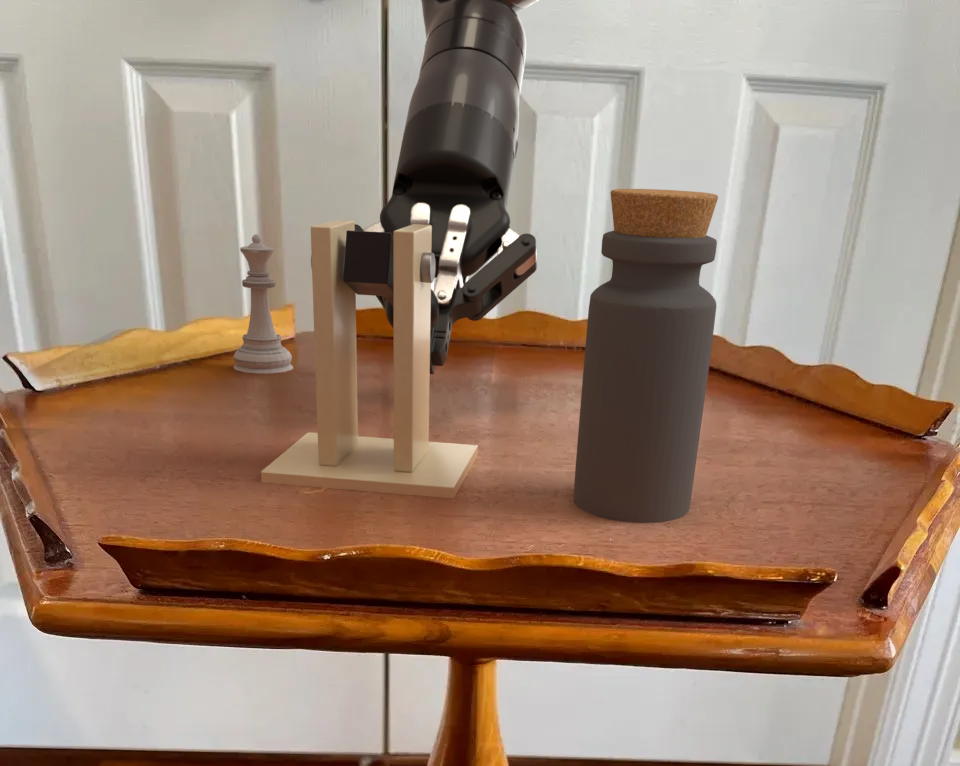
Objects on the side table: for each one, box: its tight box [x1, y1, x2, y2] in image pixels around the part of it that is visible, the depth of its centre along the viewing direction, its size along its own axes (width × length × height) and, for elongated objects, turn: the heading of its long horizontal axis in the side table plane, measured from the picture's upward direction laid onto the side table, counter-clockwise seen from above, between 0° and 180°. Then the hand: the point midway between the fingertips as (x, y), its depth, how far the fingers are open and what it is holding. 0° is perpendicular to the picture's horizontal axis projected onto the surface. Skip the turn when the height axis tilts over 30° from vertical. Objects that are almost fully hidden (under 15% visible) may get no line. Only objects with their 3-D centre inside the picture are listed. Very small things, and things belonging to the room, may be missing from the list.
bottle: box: [572, 188, 719, 524], centre depth 48 cm, size 6×6×15 cm
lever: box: [343, 230, 439, 330], centre depth 56 cm, size 13×3×3 cm, turn 171°
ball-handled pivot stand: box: [260, 219, 479, 499], centre depth 53 cm, size 8×10×13 cm
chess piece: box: [233, 234, 294, 375], centre depth 75 cm, size 4×4×10 cm
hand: (420, 366), depth 63 cm, fingers closed
